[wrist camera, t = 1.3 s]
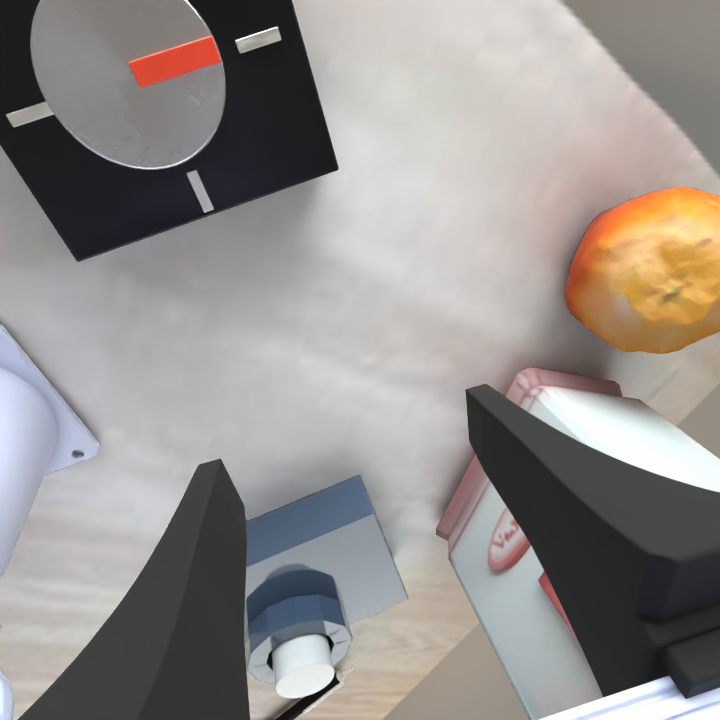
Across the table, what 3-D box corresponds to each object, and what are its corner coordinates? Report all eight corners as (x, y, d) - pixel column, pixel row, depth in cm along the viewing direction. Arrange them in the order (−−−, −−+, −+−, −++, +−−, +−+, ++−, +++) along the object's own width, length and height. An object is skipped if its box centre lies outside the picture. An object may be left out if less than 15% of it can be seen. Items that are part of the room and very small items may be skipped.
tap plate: (93, 239, 19) (76, 264, 17) (-79, -40, 14) (-144, -67, 12) (323, 158, 20) (340, 170, 17) (237, -133, 15) (244, -177, 12)
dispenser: (260, 624, 35) (267, 697, 31) (194, 542, 29) (192, 619, 25) (396, 565, 36) (420, 628, 32) (359, 474, 30) (384, 537, 26)
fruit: (675, 326, 29) (728, 390, 22) (543, 298, 30) (555, 350, 23) (743, 189, 25) (834, 215, 18) (588, 165, 26) (619, 180, 20)
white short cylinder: (283, 671, 31) (287, 705, 29) (262, 646, 29) (265, 681, 27) (334, 648, 31) (342, 681, 29) (317, 622, 29) (324, 655, 27)
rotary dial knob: (118, 171, 16) (95, 195, 12) (31, 12, 13) (-23, -9, 10) (244, 128, 16) (253, 141, 13) (183, -35, 14) (176, -68, 10)
